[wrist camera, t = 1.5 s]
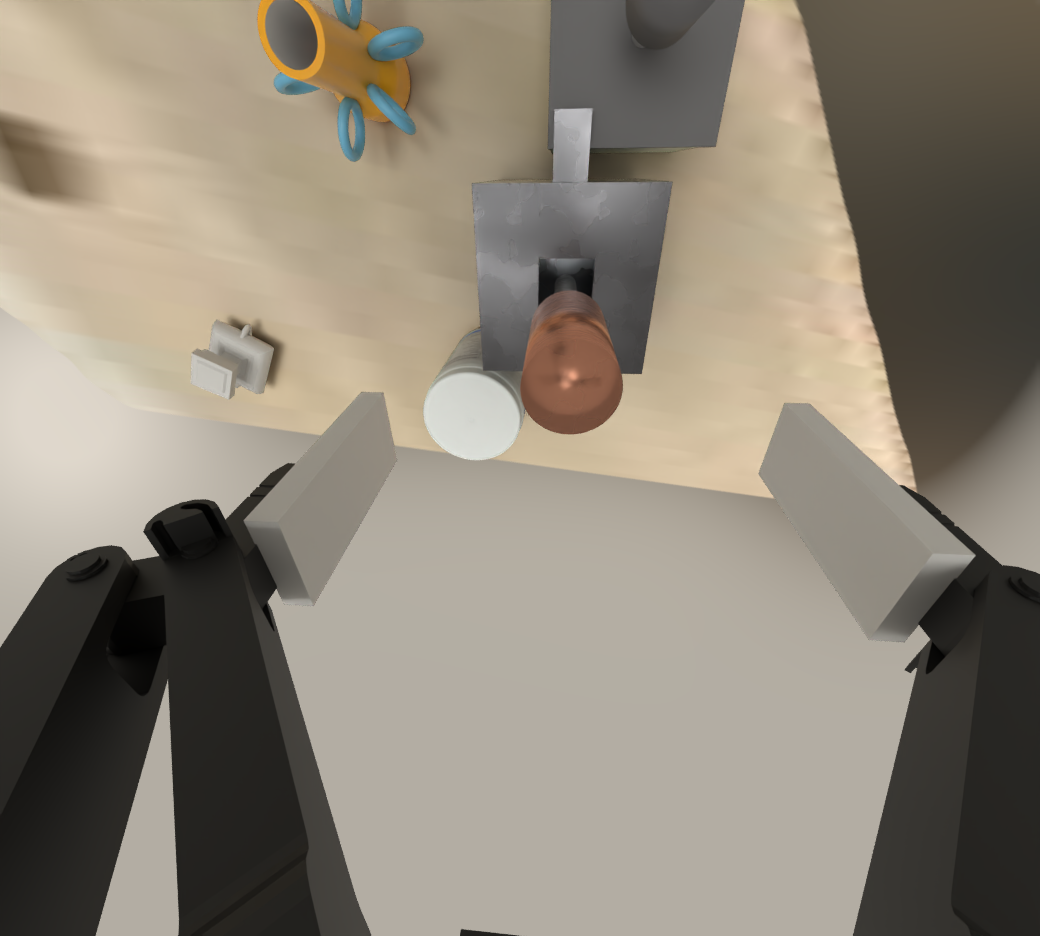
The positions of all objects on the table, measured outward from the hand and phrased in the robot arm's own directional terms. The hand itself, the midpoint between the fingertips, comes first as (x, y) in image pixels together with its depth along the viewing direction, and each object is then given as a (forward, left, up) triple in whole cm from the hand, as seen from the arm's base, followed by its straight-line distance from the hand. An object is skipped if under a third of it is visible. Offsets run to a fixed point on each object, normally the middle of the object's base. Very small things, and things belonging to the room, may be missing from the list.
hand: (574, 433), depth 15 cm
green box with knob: (-14, +4, -37) cm, 40 cm away
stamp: (+11, -38, -37) cm, 54 cm away
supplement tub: (+12, -8, -37) cm, 40 cm away
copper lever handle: (0, 0, -22) cm, 22 cm away
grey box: (-2, 0, -37) cm, 37 cm away
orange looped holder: (-14, -17, -37) cm, 43 cm away
